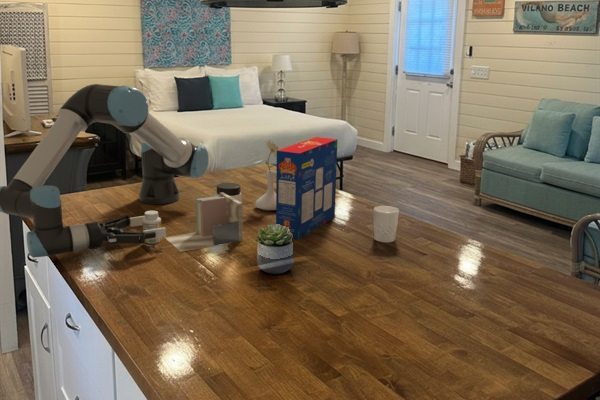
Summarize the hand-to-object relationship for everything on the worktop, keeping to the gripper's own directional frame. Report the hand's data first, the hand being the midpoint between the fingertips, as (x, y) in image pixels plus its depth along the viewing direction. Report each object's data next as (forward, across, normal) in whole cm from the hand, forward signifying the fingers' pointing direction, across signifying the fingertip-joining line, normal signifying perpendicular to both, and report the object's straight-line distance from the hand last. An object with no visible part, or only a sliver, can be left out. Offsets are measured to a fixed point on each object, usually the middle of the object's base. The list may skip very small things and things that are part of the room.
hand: (158, 225), depth 186 cm
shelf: (+12, +6, -6) cm, 15 cm away
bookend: (+17, +12, -5) cm, 21 cm away
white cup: (+64, +30, -6) cm, 71 cm away
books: (+17, +1, -5) cm, 18 cm away
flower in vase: (+48, -17, -6) cm, 51 cm away
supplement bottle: (-2, 0, -6) cm, 6 cm away
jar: (+29, -12, -6) cm, 32 cm away
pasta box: (+49, +7, -6) cm, 50 cm away
